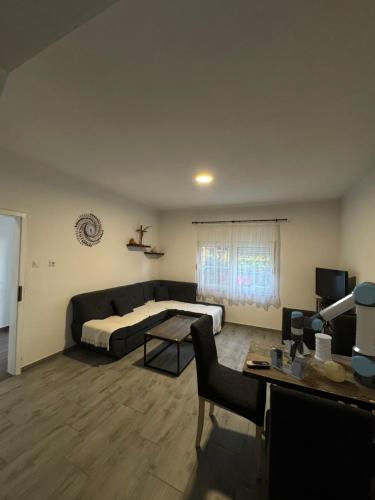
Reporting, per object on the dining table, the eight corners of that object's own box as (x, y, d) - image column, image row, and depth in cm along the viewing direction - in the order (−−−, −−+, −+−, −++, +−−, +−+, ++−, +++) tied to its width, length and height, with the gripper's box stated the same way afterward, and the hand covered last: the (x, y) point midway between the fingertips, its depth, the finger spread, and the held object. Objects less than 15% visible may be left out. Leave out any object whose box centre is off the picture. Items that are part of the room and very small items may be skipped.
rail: (310, 365, 148) (310, 358, 148) (307, 367, 145) (307, 360, 145) (287, 355, 162) (287, 349, 162) (284, 357, 159) (284, 351, 159)
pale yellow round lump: (320, 374, 142) (320, 358, 143) (337, 374, 142) (337, 358, 143) (331, 384, 131) (331, 367, 131) (350, 384, 131) (350, 367, 131)
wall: (308, 358, 173) (299, 340, 184) (312, 353, 167) (302, 335, 178) (289, 361, 172) (281, 343, 183) (292, 356, 166) (283, 338, 178)
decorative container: (312, 354, 170) (312, 332, 171) (328, 356, 167) (328, 334, 167) (317, 361, 159) (317, 337, 159) (334, 364, 156) (334, 339, 156)
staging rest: (305, 367, 150) (305, 363, 150) (302, 369, 148) (302, 364, 148) (291, 361, 159) (291, 357, 159) (288, 362, 157) (288, 358, 157)
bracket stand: (307, 375, 140) (307, 359, 140) (300, 380, 135) (300, 363, 135) (276, 361, 158) (276, 347, 158) (269, 365, 153) (269, 350, 153)
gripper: (299, 328, 163) (298, 358, 163) (284, 334, 151) (284, 366, 150) (309, 331, 157) (309, 362, 157) (294, 338, 145) (294, 371, 144)
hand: (296, 364), depth 154 cm, fingers open, 8 cm apart
